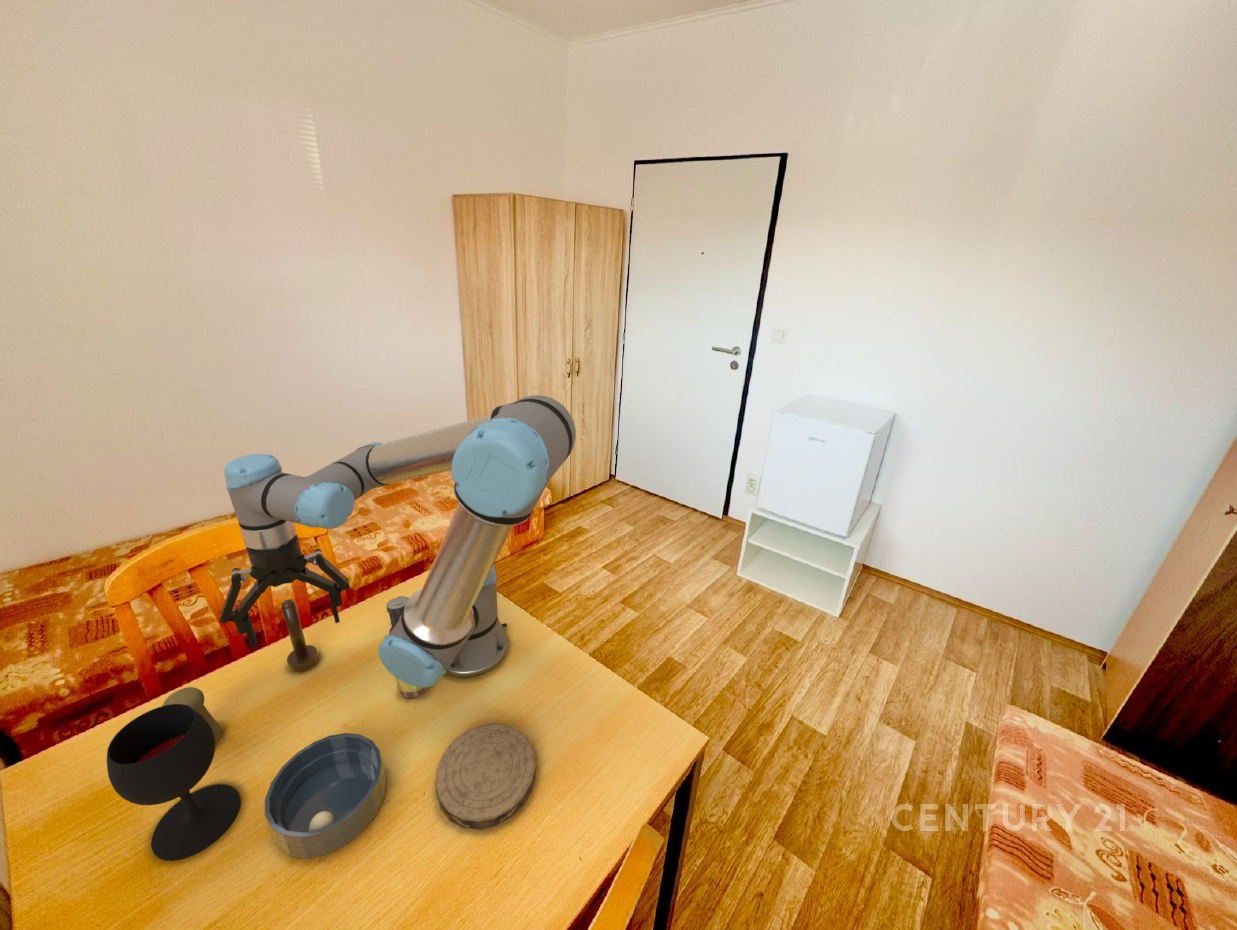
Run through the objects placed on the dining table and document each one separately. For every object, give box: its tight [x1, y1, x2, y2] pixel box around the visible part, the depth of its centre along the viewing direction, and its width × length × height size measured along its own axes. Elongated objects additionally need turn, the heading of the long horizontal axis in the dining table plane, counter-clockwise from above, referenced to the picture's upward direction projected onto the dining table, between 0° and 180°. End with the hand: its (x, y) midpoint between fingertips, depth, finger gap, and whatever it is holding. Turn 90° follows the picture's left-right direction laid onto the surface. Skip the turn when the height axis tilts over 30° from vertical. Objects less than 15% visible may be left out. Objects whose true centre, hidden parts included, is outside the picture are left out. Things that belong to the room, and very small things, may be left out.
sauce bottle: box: [386, 595, 431, 699], centre depth 93 cm, size 6×6×20 cm
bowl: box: [264, 732, 387, 859], centre depth 75 cm, size 15×15×6 cm
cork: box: [162, 686, 223, 746], centre depth 81 cm, size 6×6×11 cm
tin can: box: [434, 722, 536, 832], centre depth 81 cm, size 16×16×3 cm
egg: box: [309, 811, 334, 831], centre depth 71 cm, size 3×3×3 cm
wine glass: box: [106, 704, 242, 862], centre depth 68 cm, size 10×10×20 cm
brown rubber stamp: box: [280, 598, 320, 673], centre depth 96 cm, size 5×5×16 cm
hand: (297, 630), depth 94 cm, fingers open, 13 cm apart
